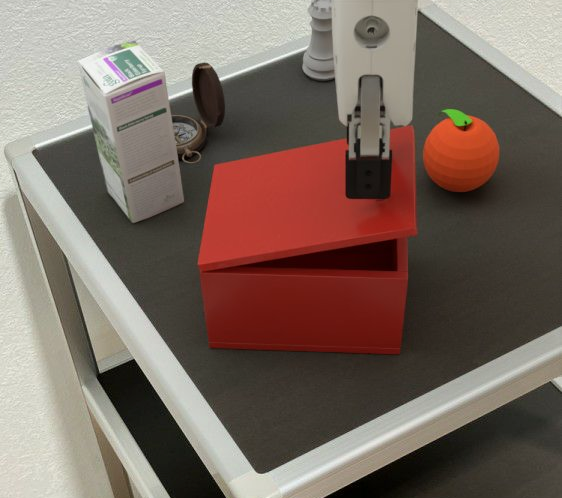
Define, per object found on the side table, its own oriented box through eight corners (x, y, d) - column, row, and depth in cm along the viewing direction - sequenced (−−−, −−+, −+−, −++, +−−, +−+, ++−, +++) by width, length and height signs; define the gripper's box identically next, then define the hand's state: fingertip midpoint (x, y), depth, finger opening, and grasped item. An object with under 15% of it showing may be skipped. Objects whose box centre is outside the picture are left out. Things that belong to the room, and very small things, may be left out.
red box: (398, 254, 86) (406, 176, 79) (399, 355, 79) (408, 279, 72) (223, 249, 87) (216, 172, 80) (209, 348, 79) (199, 272, 73)
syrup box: (186, 202, 91) (169, 68, 79) (130, 226, 89) (104, 92, 78) (158, 170, 94) (137, 35, 83) (103, 192, 92) (74, 58, 81)
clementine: (400, 166, 93) (406, 104, 88) (462, 145, 95) (471, 83, 89) (444, 216, 89) (452, 154, 83) (508, 193, 90) (520, 131, 85)
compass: (135, 135, 97) (124, 72, 92) (206, 111, 99) (200, 48, 94) (166, 180, 93) (156, 117, 87) (240, 154, 95) (235, 91, 89)
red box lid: (414, 132, 75) (400, 74, 71) (417, 235, 68) (402, 177, 64) (217, 171, 80) (194, 119, 76) (200, 272, 73) (174, 220, 69)
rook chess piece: (315, 87, 102) (315, 18, 95) (294, 66, 104) (293, -3, 98) (351, 74, 103) (354, 5, 97) (330, 54, 105) (331, -15, 99)
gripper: (444, 6, 51) (422, 251, 66) (432, -141, 62) (416, 98, 76) (303, 8, 52) (312, 251, 66) (315, -137, 63) (320, 99, 77)
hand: (367, 167), depth 71 cm, fingers closed on red box lid, 5 cm apart
